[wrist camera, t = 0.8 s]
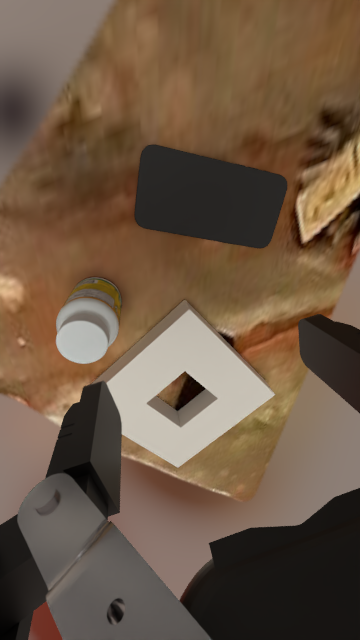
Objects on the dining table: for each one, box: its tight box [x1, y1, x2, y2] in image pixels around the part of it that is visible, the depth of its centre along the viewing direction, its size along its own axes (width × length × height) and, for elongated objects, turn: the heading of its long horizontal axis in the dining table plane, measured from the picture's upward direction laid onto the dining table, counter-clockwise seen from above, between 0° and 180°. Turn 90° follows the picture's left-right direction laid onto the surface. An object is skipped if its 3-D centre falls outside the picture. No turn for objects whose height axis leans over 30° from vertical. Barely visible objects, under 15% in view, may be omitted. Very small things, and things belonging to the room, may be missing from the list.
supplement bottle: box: [56, 277, 122, 364], centre depth 25 cm, size 5×5×10 cm
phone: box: [135, 145, 287, 248], centre depth 27 cm, size 7×1×15 cm
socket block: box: [92, 300, 275, 467], centre depth 35 cm, size 18×18×3 cm
